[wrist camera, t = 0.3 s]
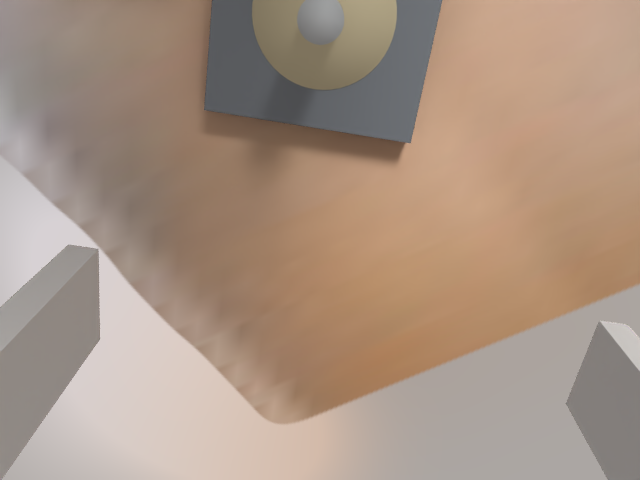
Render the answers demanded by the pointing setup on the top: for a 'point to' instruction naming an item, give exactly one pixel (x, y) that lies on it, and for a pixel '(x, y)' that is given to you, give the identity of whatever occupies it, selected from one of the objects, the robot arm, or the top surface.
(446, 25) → the top surface
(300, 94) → the post block
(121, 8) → the top surface
